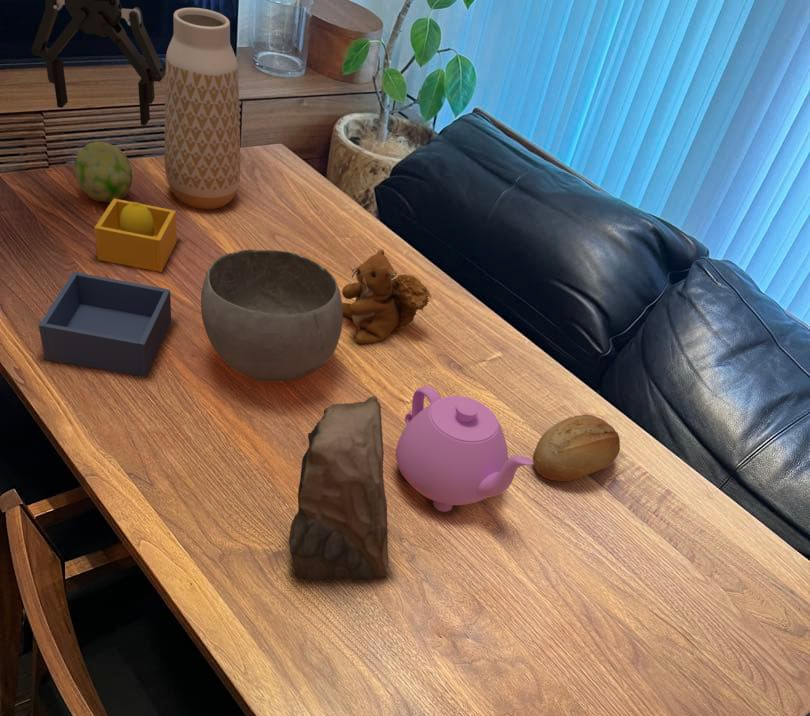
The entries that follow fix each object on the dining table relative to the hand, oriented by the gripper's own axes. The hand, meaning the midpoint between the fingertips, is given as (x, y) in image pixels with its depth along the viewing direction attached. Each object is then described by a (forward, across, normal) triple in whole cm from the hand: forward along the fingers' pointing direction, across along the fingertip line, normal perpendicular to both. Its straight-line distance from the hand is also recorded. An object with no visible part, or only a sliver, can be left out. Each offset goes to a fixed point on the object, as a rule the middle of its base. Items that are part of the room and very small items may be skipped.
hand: (104, 113), depth 134 cm
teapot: (+17, -64, +56) cm, 87 cm away
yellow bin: (+17, -8, +12) cm, 22 cm away
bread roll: (+17, -83, +47) cm, 97 cm away
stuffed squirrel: (+17, -51, +20) cm, 58 cm away
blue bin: (+17, -11, +38) cm, 43 cm away
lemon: (+16, -8, +12) cm, 22 cm away
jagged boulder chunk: (+17, -51, +72) cm, 90 cm away
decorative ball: (+17, +2, -3) cm, 17 cm away
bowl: (+17, -35, +36) cm, 53 cm away
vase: (+17, -14, -11) cm, 25 cm away
